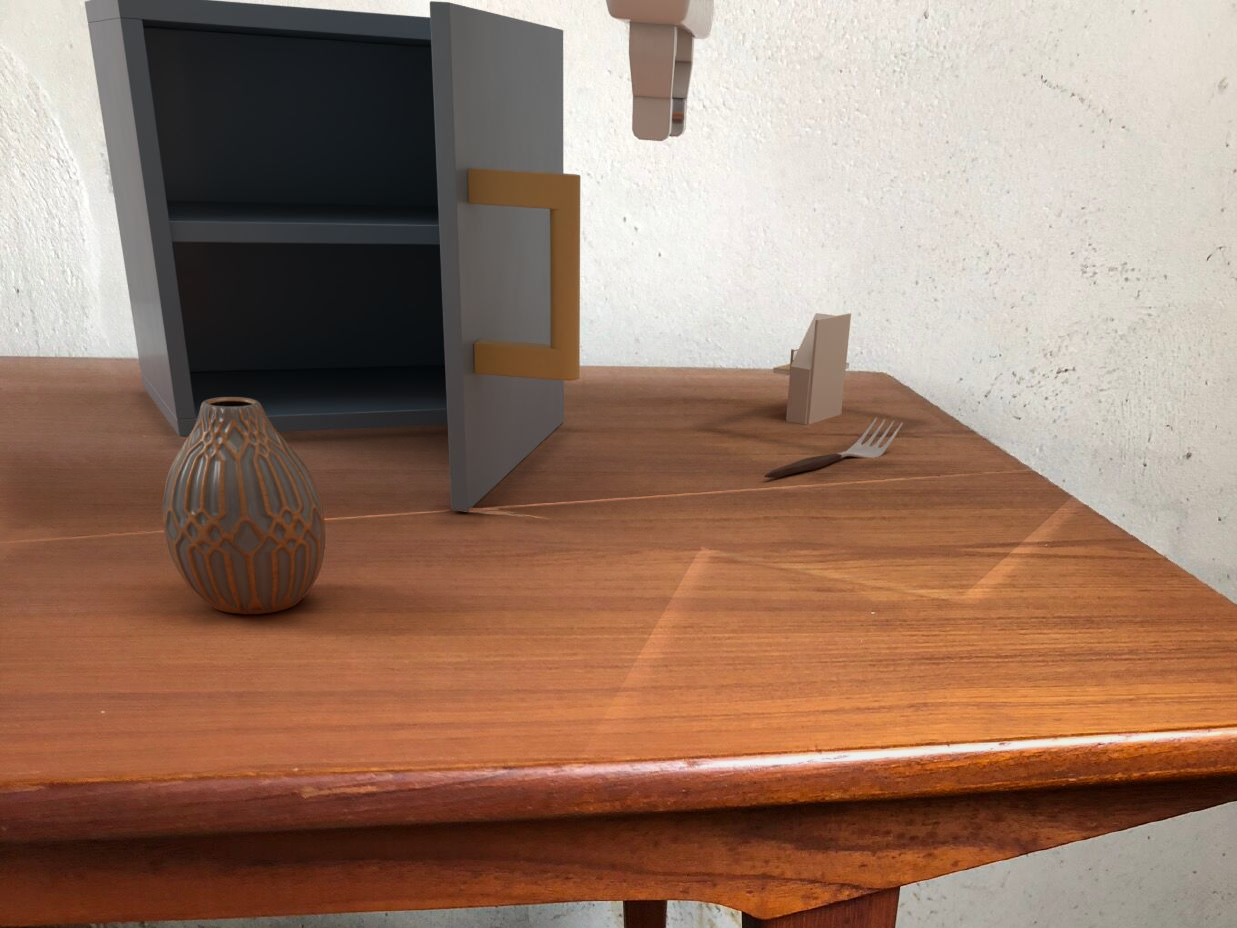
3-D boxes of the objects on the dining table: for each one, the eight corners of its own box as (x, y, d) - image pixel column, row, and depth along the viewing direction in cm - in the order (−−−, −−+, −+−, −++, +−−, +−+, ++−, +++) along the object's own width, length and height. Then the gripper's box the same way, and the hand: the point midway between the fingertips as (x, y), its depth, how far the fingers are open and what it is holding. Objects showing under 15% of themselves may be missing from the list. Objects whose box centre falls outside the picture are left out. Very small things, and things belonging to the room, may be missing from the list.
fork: (747, 481, 88) (750, 448, 87) (870, 445, 99) (874, 416, 98) (781, 488, 87) (784, 456, 86) (902, 451, 98) (905, 422, 97)
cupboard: (553, 421, 101) (551, 26, 88) (179, 438, 90) (116, -8, 78) (476, 377, 115) (464, 30, 102) (143, 387, 104) (84, 1, 91)
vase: (295, 632, 60) (273, 423, 55) (147, 617, 61) (113, 409, 56) (354, 586, 66) (338, 394, 61) (218, 572, 67) (192, 382, 62)
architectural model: (768, 419, 106) (776, 314, 102) (810, 407, 111) (818, 307, 107) (807, 426, 104) (816, 320, 100) (847, 413, 109) (858, 312, 105)
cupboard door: (641, 428, 100) (652, 34, 87) (568, 520, 77) (568, 8, 65) (550, 421, 100) (548, 28, 88) (451, 510, 78) (429, 1, 65)
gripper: (630, -174, 72) (622, 130, 79) (575, -262, 54) (571, 138, 62) (749, -166, 72) (730, 138, 79) (732, -252, 54) (710, 148, 61)
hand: (660, 138), depth 70 cm, fingers open, 8 cm apart
